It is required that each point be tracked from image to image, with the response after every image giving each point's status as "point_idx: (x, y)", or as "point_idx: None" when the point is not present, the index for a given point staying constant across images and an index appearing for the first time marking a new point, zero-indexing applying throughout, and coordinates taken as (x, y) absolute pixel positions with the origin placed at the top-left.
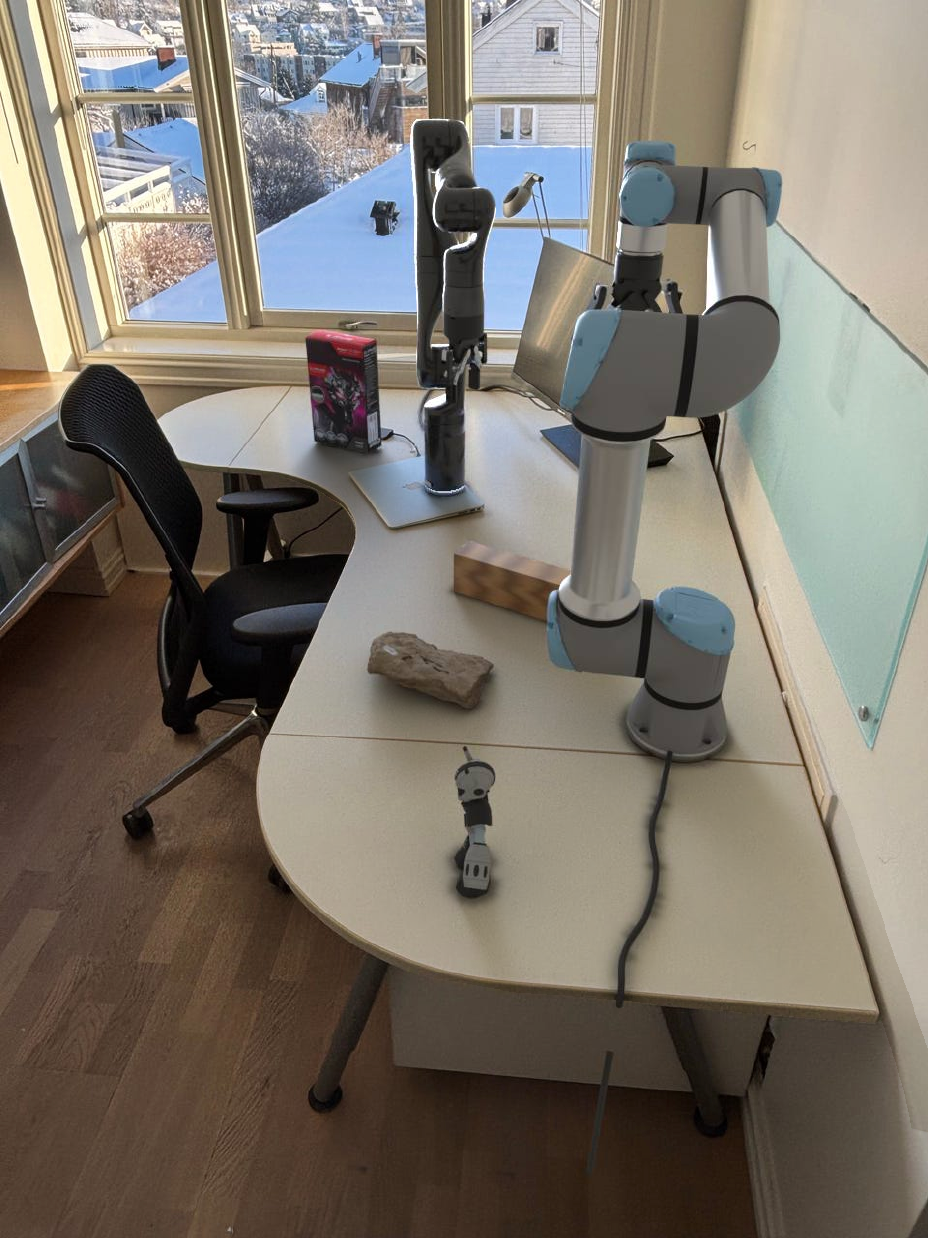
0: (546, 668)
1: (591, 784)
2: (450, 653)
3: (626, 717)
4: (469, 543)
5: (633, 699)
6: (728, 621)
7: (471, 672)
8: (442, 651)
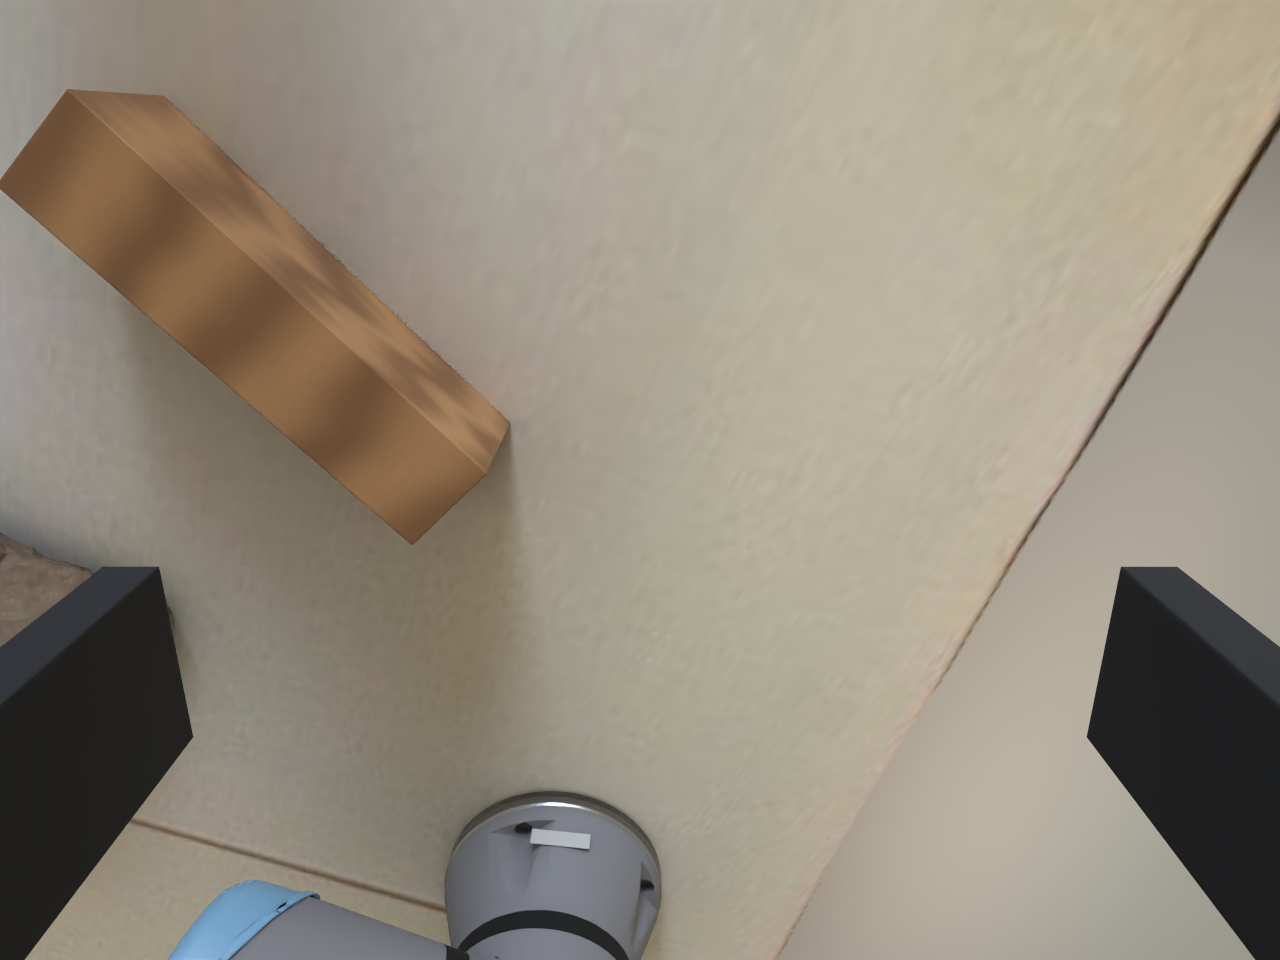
0: (329, 628)
1: None
2: (36, 601)
3: (456, 844)
4: (67, 116)
5: (463, 870)
6: None
7: None
8: (16, 580)
